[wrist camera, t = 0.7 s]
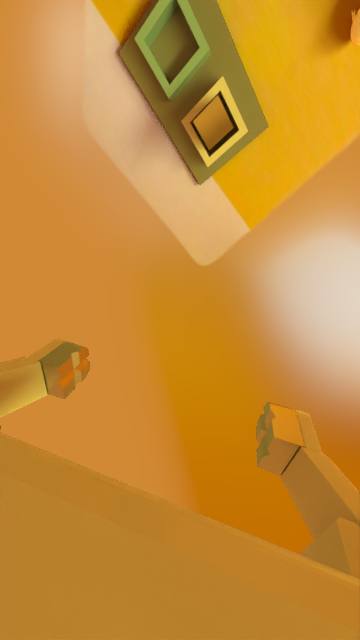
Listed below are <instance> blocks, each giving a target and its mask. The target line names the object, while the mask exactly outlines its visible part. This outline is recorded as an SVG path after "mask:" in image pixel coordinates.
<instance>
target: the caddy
mask: <svg viewBox="0 0 360 640" xmlns="http://www.w3.org/2000/svg"><path fill="white" fill-rule="evenodd" d="M119 55H120V56H121V58H122V60H123V61H124V63H125V64H126V66H127V68H128V69H129V71H130V73H131V74H132V76H133V77H134V79H135V81H136V82H137V84H138V86H139V87H140V89H141V90H142V92H143V94H144V95H145V97H146V98H147V100H148V102H149V103H150V105H151V107H152V108H153V110H154V111H155V113H156V115H157V116H158V118H159V120H160V121H161V123H162V124H163V126H164V128H165V129H166V131H167V133H168V134H169V136H170V137H171V139H172V141H173V142H174V144H175V146H176V147H177V149H178V150H179V152H180V154H181V155H182V157H183V159H184V160H185V162H186V163H187V165H188V167H189V168H190V170H191V172H192V173H193V175H194V176H195V178H196V180H197V181H198V183H199V185H201V184H202V183H203V182H205V181H206V180H207V179H208V178H209V177H210V176H212V175H213V174H214V173H215V172H216V171H217V170H219V169H220V168H221V167H222V166H223V165H224V164H226V163H227V162H228V161H229V160H230V159H231V158H233V157H234V156H235V155H236V154H237V153H238V152H240V151H241V150H242V149H243V148H244V147H245V146H247V145H248V144H249V143H250V142H251V141H252V140H254V139H255V138H256V137H257V136H258V135H259V134H261V133H262V132H263V131H264V130H265V129H266V128H268V127H269V126H268V124H267V121H266V119H265V116H264V114H263V112H262V109H261V107H260V104H259V102H258V100H257V97H256V95H255V92H254V90H253V88H252V85H251V83H250V80H249V78H248V75H247V73H246V71H245V68H244V66H243V63H242V61H241V59H240V56H239V54H238V51H237V49H236V46H235V44H234V42H233V39H232V37H231V34H230V32H229V30H228V27H227V25H226V22H225V20H224V18H223V15H222V13H221V10H220V8H219V5H218V3H217V1H216V0H152V1H151V3H150V5H149V6H148V8H147V9H146V11H145V12H144V14H143V16H142V17H141V19H140V20H139V22H138V23H137V25H136V27H135V28H134V30H133V31H132V33H131V35H130V36H129V38H128V39H127V41H126V42H125V44H124V46H123V47H122V49H121V50H120V52H119ZM217 96H219V98H220V100H221V102H222V104H223V106H224V109H225V111H226V113H227V115H228V117H229V119H230V121H231V123H232V125H233V127H234V128H233V129H232V130H231V131H230V132H228V133H227V134H226V135H225V136H224V137H223V138H222V139H221V140H220V141H219V142H218V143H217V144H216V145H214V146H213V147H212V148H211V149H210V150H209V149H208V148H207V146H206V144H205V142H204V140H203V139H202V137H201V135H200V133H199V131H198V130H197V128H196V126H195V124H194V122H193V121H194V120H195V119H196V118H197V117H198V116H199V115H200V114H201V112H202V111H203V110H204V109H205V108H206V107H207V106H208V105H209V104H210V103H211V102H212V101H213V100H214V99H215V98H216V97H217Z"/></svg>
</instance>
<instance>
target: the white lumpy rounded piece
mask: <svg viewBox="0 0 360 640" xmlns="http://www.w3.org/2000/svg"><path fill="white" fill-rule="evenodd" d="M352 20H353V24H352V27H351V41H352V42H353V44H354V45H360V9H359V11H358V12H357V14H356V15H355V7H354V14H353V10H352Z"/></svg>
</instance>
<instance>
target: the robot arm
mask: <svg viewBox="0 0 360 640" xmlns="http://www.w3.org/2000/svg"><path fill="white" fill-rule="evenodd" d="M88 355H89V351H88V349H87V348H86V347H83V346H80V345H77V344H74V343H71V342H67V341H64V340H61V339H55V340H53V341H52V342H50V343H49V344H47V345H46V346H44V347H43V348H41V349H40V350H38V351H37V352H35V353H34V354H32V355H30V356H29V357H21V358H17V359H13V360H10V361H6V362H2V363H0V417H2V416H5V415H7V414H9V413H11V412H13V411H15V410H17V409H19V408H21V407H23V406H25V405H28V404H29V403H32V402H34V401H36V400H38V399H40V398H42V397H44V396H46V395H48V394H50V395H53V396H56V397H60V398H63V399H65V398H66V397H67V396H68V395H69V394H70V393H71V392H72V391H73V390H74V389H75V385H76V384H77V383H79V382H82V381H83V380H84V378H86V376H87V374H88V372H89V369H90V362H89V361H88V359H87V357H88ZM0 429H1V426H0ZM256 440H257V441H258V443H259V446H258V448H257V467H258V468H261V469H264V470H266V471H269V472H272V473H274V474H277V475H280V476H281V479H282V481H283V483H284V485H285V486H286V488H287V490H288V492H289V494H290V496H291V498H292V499H293V501H294V503H295V505H296V507H297V509H298V510H299V512H300V514H301V516H302V518H303V520H304V522H305V524H306V526H307V527H308V529H309V531H310V533H311V535H312V537H313V539H314V541H313V542H312V543H311V544H310V545H309V546H308V547H307V548H306V549H305V550H303V551H302V552H301V555H299V554H297V553H294V552H292V551H289V550H287V549H284V548H282V547H280V546H277V545H274V544H272V543H270V542H267V541H265V540H262V539H260V538H257V537H255V536H253V535H250V534H248V533H245V532H243V531H240V530H237V529H235V528H233V527H231V526H228V525H226V524H223V523H221V522H218V521H216V520H213V519H211V518H208V517H206V516H204V515H201V514H199V513H196V512H194V511H191V510H189V509H186V508H184V507H182V506H179V505H177V504H174V503H172V502H169V501H167V500H165V499H162V498H160V497H157V496H155V495H152V494H150V493H147V492H145V491H142V490H140V489H138V488H135V487H133V486H130V485H128V484H125V483H123V482H120V481H118V480H115V479H113V478H110V477H108V476H106V475H103V474H101V473H98V472H96V471H93V470H91V469H88V468H86V467H84V466H81V465H79V464H76V463H74V462H71V461H69V460H67V459H64V458H62V457H59V456H57V455H54V454H52V453H49V452H47V451H44V450H42V449H40V448H37V447H34V446H32V445H30V444H27V443H25V442H22V441H20V440H17V439H15V438H13V437H10V436H8V435H5V434H3V433H0V640H360V492H359V491H358V490H357V489H356V488H355V487H354V485H353V484H352V483H351V482H350V481H349V480H348V479H347V478H346V476H345V475H344V474H343V473H342V472H341V471H340V469H339V468H338V467H337V466H336V465H335V464H334V463H333V462H332V460H331V459H330V458H329V457H328V456H327V455H325V454H322V451H321V448H320V445H319V441H318V438H317V435H316V432H315V429H314V426H313V423H312V420H311V417H310V415H309V414H308V413H306V412H302V411H299V410H295V409H291V408H288V407H284V406H281V405H278V404H274V403H270V402H267V403H266V404H265V406H264V414H262V415H260V417H259V419H258V422H257V427H256Z"/></svg>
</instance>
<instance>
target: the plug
mask: <svg viewBox="0 0 360 640" xmlns="http://www.w3.org/2000/svg"><path fill="white" fill-rule="evenodd" d="M193 122H194V124H195V126H196V128H197V130H198V131H199V133H200V135H201V137H202V139H203V140H204V142H205V144H206V146H207V148H208V149H209V150H210V149H211V148H212V147H213V146H214V145H216V144H217V143H218V142H219V141H220V140H221V139H222V138H223V137H224V136H225V135H226V134H227V133H228V132H230V131H231V130H232V129H233V128H234V127H233V125H232V123H231V121H230V119H229V117H228V115H227V113H226V111H225V109H224V106H223V104H222V102H221V100H220V98H219V96H217V97H216V98H215V99H214V100H213V101H212V102H211V103H210V104H209V105H208V106H207V107H206V108H205V109H204V110H203V111H202V112H201V114H200V115H199V116H198V117H197V118H196V119H195V120H194V121H193Z"/></svg>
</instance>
